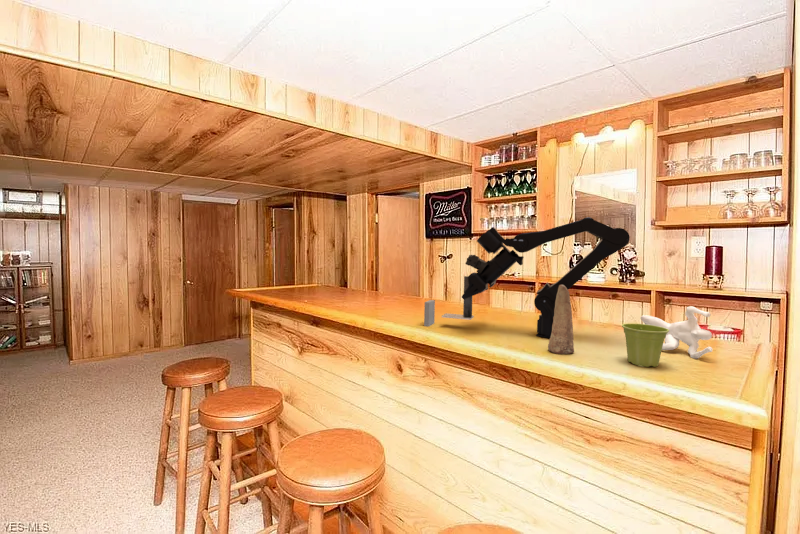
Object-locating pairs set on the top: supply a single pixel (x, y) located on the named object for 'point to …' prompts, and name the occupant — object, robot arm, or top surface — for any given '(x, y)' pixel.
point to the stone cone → (562, 324)
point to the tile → (429, 313)
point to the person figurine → (683, 332)
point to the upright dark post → (466, 307)
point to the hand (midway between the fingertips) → (463, 297)
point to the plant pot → (644, 343)
